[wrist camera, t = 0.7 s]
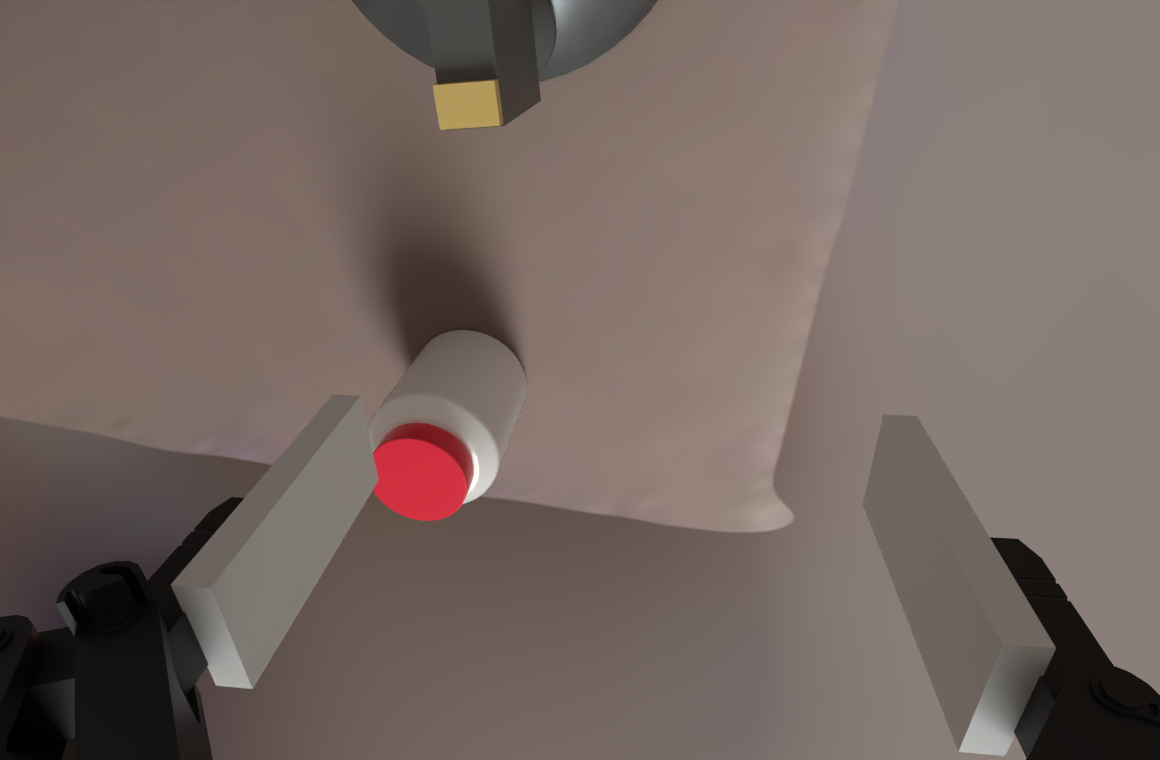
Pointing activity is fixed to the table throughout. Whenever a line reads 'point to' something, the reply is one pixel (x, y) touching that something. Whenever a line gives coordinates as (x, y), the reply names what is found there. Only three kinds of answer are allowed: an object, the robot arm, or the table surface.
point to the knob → (488, 58)
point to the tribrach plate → (583, 18)
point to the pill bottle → (447, 424)
